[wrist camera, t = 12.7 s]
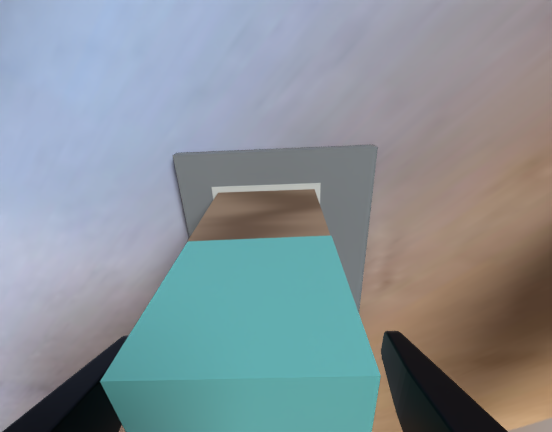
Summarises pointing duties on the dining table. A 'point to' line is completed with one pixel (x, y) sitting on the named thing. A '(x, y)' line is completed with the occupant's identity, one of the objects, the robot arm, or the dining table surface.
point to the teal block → (248, 344)
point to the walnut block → (262, 216)
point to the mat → (292, 176)
